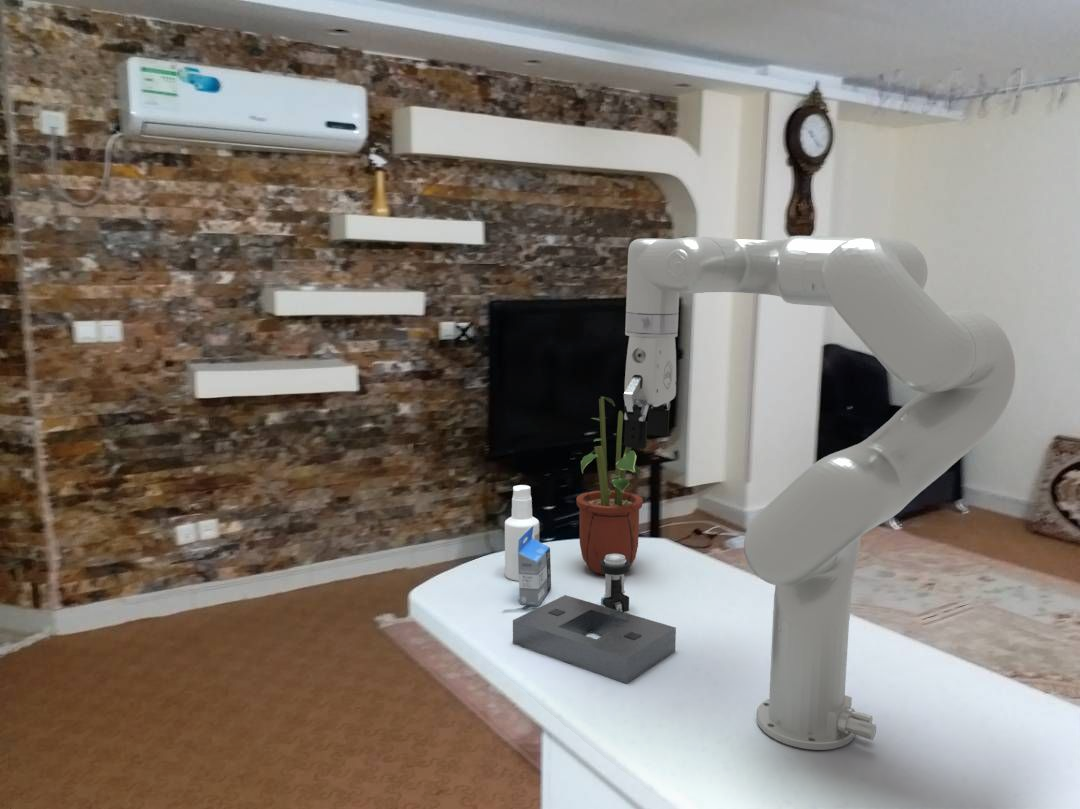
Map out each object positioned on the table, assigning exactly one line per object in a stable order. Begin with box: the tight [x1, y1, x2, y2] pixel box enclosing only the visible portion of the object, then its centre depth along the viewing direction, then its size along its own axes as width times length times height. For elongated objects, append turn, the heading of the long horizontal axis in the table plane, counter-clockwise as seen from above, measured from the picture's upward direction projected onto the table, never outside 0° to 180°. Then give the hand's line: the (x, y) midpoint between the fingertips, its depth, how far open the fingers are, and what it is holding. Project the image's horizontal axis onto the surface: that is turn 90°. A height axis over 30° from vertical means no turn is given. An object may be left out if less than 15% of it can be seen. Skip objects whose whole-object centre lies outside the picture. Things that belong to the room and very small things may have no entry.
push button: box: [600, 554, 631, 612], centre depth 154 cm, size 7×5×10 cm
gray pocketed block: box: [512, 594, 677, 685], centre depth 140 cm, size 22×14×4 cm, turn 51°
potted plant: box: [575, 396, 643, 576], centre depth 172 cm, size 17×16×35 cm
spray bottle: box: [504, 484, 540, 582], centre depth 171 cm, size 7×7×18 cm
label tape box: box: [518, 526, 552, 607], centre depth 161 cm, size 9×4×12 cm, turn 164°
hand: (646, 441), depth 129 cm, fingers open, 9 cm apart
